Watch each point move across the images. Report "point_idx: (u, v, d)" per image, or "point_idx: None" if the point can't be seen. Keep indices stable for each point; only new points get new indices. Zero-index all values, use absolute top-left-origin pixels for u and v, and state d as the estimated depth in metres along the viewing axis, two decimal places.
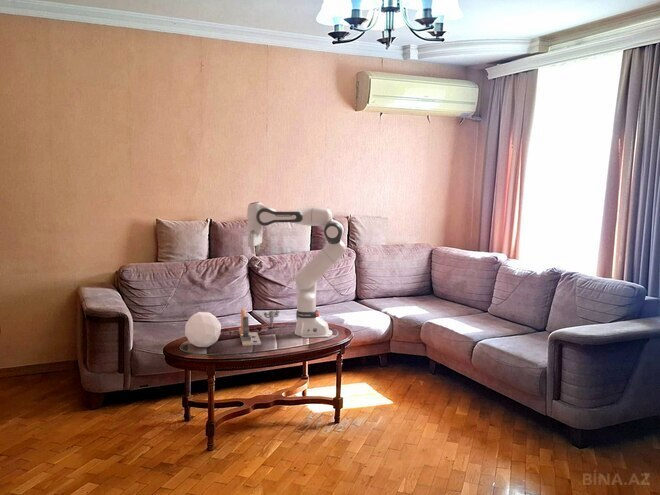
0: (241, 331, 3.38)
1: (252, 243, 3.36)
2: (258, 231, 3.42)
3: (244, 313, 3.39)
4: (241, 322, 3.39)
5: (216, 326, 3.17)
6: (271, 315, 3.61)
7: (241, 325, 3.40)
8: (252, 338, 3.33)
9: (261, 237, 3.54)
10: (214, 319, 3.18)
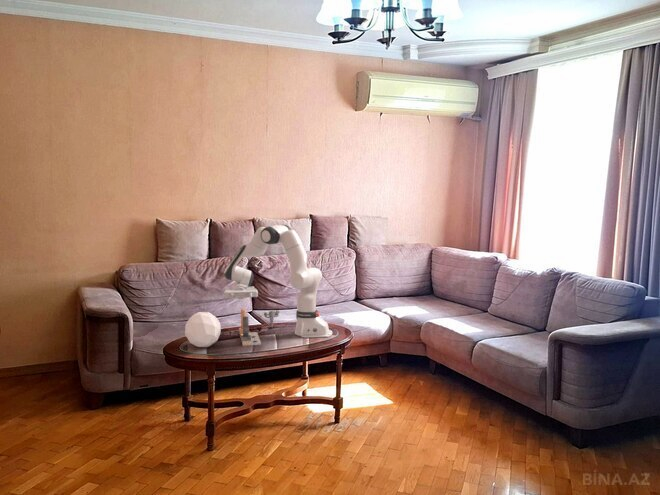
0: (241, 331, 3.38)
1: None
2: (235, 287, 3.62)
3: (244, 313, 3.39)
4: (241, 322, 3.39)
5: (216, 326, 3.17)
6: (271, 315, 3.61)
7: (241, 325, 3.40)
8: (252, 338, 3.33)
9: (253, 290, 3.60)
10: (214, 319, 3.18)
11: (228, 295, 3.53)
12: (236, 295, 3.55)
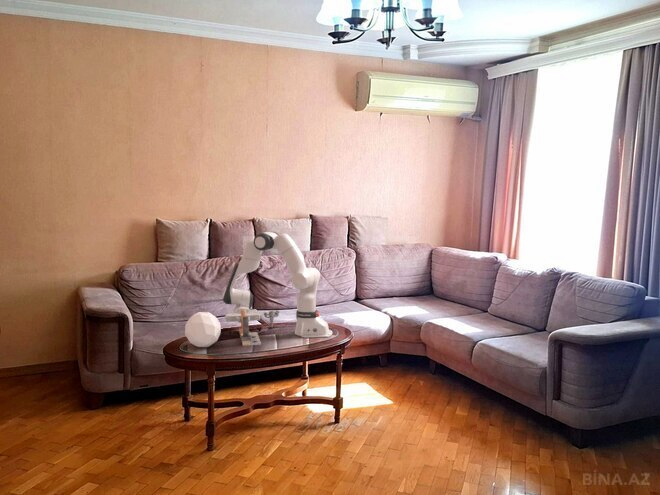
0: (241, 331, 3.38)
1: (225, 316, 3.44)
2: (236, 310, 3.51)
3: (244, 313, 3.39)
4: (241, 322, 3.39)
5: (216, 326, 3.17)
6: (271, 315, 3.61)
7: (241, 325, 3.40)
8: (252, 338, 3.33)
9: (256, 313, 3.49)
10: (214, 319, 3.18)
11: (229, 319, 3.42)
12: None
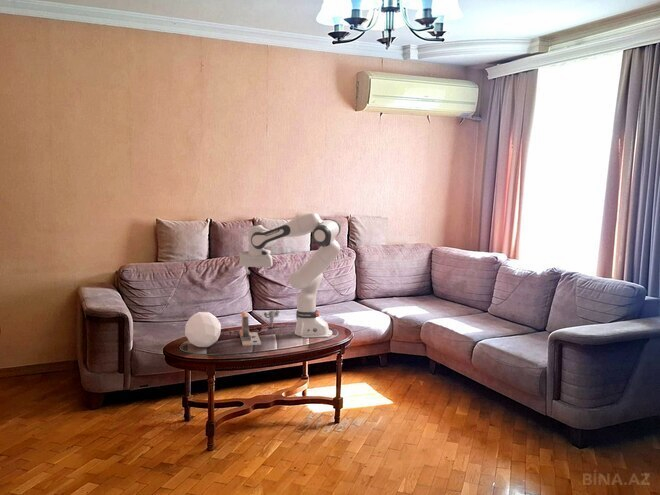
0: (242, 334, 3.32)
1: (239, 263, 3.54)
2: (249, 253, 3.51)
3: (245, 315, 3.33)
4: (242, 324, 3.34)
5: (216, 326, 3.17)
6: (271, 315, 3.61)
7: (242, 328, 3.34)
8: (252, 338, 3.33)
9: (268, 261, 3.51)
10: (214, 319, 3.18)
11: None
12: None
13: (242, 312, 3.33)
